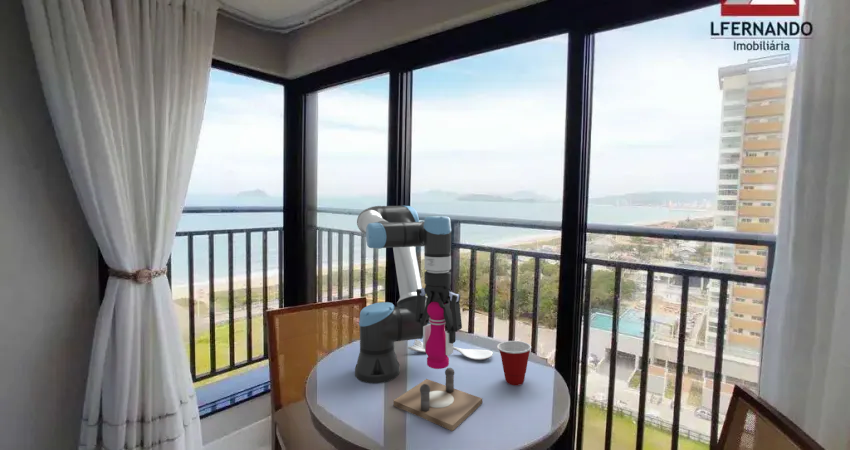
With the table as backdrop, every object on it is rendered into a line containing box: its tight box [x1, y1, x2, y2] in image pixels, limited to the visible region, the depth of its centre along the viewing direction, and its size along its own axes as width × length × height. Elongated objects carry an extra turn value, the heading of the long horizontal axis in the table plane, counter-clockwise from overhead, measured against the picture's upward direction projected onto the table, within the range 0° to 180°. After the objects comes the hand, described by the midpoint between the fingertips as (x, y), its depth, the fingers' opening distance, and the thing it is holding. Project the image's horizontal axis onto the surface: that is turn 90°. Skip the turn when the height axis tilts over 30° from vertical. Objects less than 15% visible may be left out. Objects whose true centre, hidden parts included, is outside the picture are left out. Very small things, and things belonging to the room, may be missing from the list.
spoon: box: [407, 339, 494, 361], centre depth 139 cm, size 9×32×4 cm, turn 73°
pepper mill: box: [424, 302, 450, 370], centre depth 103 cm, size 7×7×20 cm
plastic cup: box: [496, 340, 532, 386], centre depth 117 cm, size 11×11×12 cm
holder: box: [392, 367, 483, 432], centre depth 104 cm, size 20×16×8 cm
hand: (438, 350), depth 103 cm, fingers closed on pepper mill, 7 cm apart
